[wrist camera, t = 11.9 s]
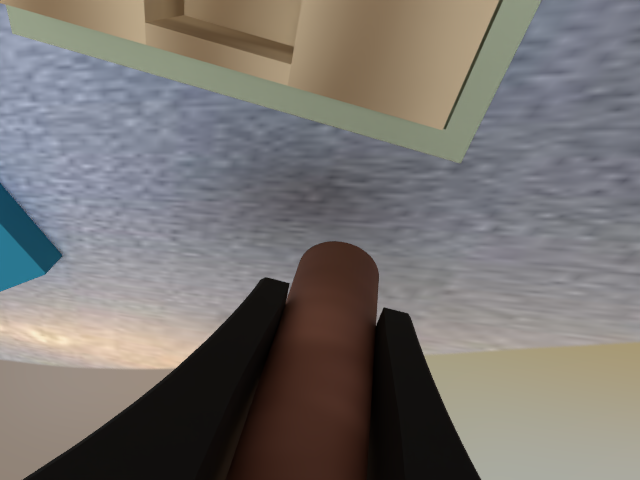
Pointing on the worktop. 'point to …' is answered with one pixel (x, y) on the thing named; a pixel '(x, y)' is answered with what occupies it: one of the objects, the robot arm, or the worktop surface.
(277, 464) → the peg
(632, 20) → the worktop surface
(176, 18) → the notched tan block
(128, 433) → the robot arm
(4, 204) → the lever
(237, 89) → the cradle
